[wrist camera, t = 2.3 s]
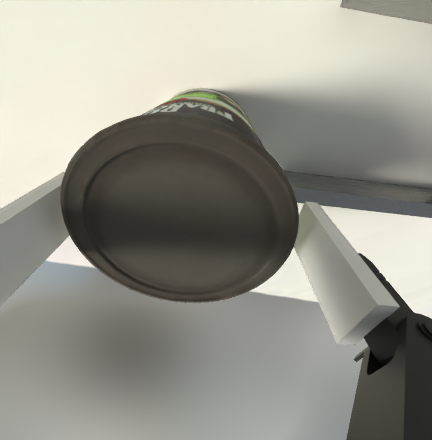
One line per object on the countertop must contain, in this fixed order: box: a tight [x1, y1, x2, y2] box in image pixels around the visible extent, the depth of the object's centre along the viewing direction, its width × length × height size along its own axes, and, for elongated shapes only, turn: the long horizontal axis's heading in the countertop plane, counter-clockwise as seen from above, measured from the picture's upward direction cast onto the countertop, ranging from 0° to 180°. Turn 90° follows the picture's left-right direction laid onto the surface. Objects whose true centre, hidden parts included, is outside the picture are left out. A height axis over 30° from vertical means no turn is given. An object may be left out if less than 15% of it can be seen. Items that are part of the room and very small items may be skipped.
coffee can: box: [60, 89, 299, 303], centre depth 15 cm, size 10×10×14 cm
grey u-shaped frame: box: [284, 0, 432, 218], centre depth 17 cm, size 16×20×5 cm
